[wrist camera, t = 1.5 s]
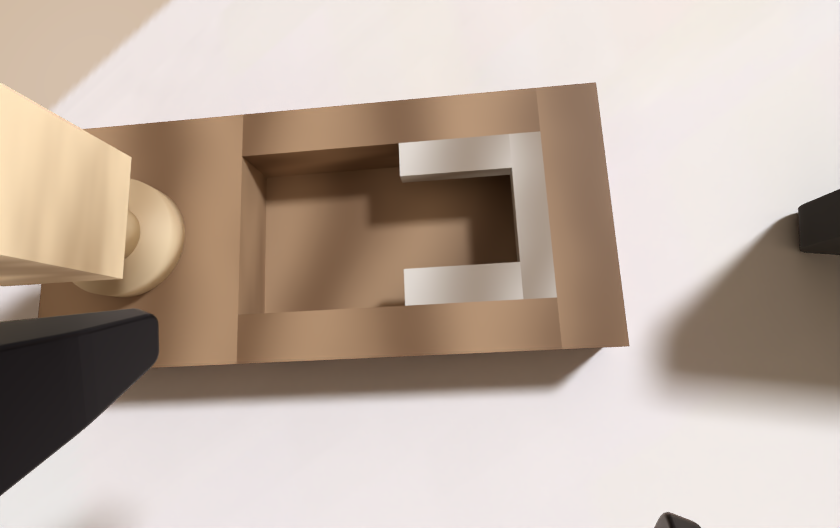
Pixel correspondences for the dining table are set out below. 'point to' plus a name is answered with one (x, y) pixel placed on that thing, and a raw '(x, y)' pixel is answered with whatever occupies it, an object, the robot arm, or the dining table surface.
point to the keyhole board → (380, 230)
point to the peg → (77, 208)
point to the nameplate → (820, 225)
